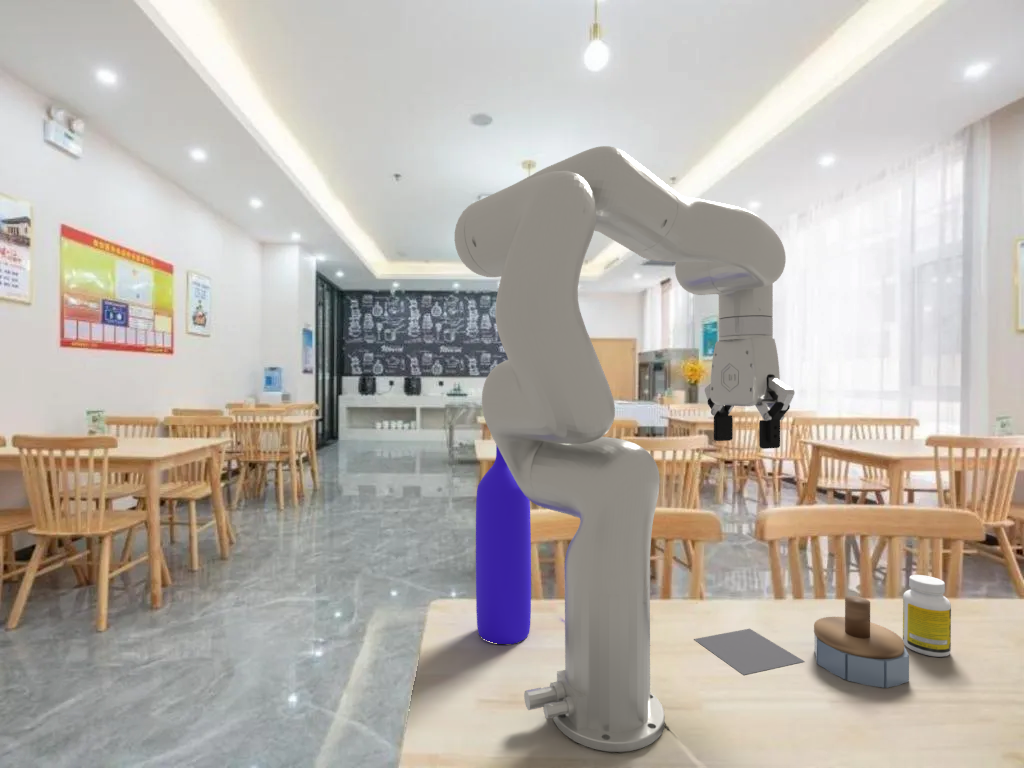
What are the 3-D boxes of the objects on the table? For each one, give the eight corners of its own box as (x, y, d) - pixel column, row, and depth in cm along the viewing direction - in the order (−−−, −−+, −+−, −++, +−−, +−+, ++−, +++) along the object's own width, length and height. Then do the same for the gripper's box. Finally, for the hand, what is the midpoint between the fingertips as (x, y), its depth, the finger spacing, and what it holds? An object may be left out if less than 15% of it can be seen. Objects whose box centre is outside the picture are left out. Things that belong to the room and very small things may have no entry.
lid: (864, 665, 65) (864, 622, 65) (796, 628, 75) (796, 590, 75) (923, 651, 68) (923, 610, 68) (851, 618, 78) (851, 581, 78)
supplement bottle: (959, 660, 74) (960, 588, 74) (914, 656, 75) (914, 585, 75) (937, 641, 79) (937, 573, 79) (895, 637, 80) (895, 571, 80)
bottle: (541, 629, 83) (540, 433, 83) (512, 652, 76) (511, 438, 76) (496, 616, 88) (495, 430, 87) (465, 637, 81) (463, 435, 80)
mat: (743, 679, 69) (743, 674, 69) (693, 643, 79) (693, 639, 79) (804, 665, 72) (804, 661, 72) (749, 632, 82) (749, 628, 82)
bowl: (868, 699, 65) (868, 666, 65) (798, 659, 74) (798, 630, 74) (925, 683, 68) (925, 651, 68) (851, 646, 78) (851, 618, 78)
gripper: (688, 334, 89) (688, 439, 89) (769, 325, 73) (769, 452, 73) (726, 335, 92) (726, 437, 92) (812, 326, 75) (812, 450, 75)
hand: (745, 444), depth 82 cm, fingers open, 9 cm apart
